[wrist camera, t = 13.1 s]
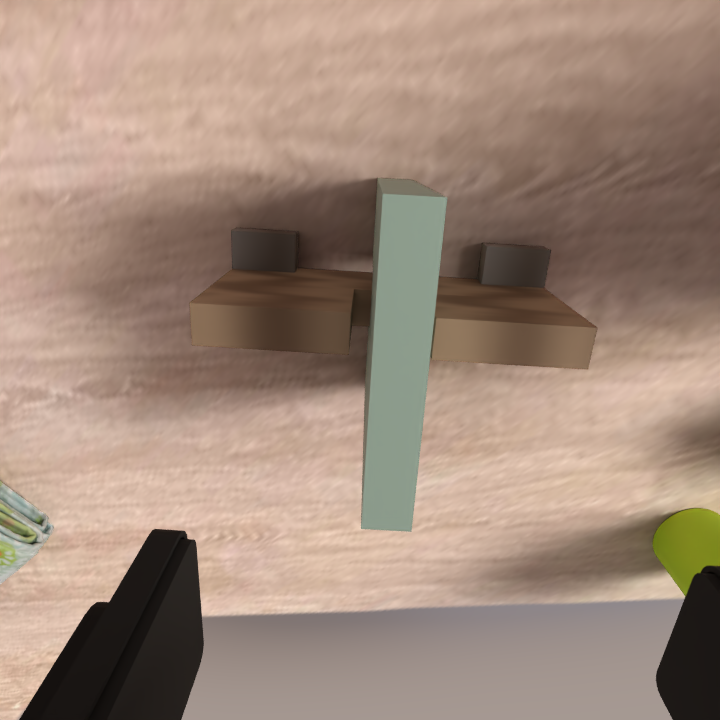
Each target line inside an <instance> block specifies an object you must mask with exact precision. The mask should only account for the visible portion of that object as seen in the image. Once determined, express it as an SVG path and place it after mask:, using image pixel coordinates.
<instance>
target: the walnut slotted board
mask: <svg viewBox="0 0 720 720" xmlns="http://www.w3.org/2000/svg"><path fill="white" fill-rule="evenodd" d="M231 241H232V270H230V271H229V272H228V273H227V274H225V275H224V276H223V277H221V278H220V279H219V280H218V281H216V282H215V283H214V284H213V285H211V286H210V287H209V288H208V289H206V290H205V291H204V292H203V293H201V294H200V295H199V296H198V297H196V298H195V299H194V300H192V301H191V302H190V303H189V306H190V322H191V338H192V345H194V346H210V347H227V348H243V349H259V350H276V351H292V352H309V353H325V354H342V355H349V346H350V338H351V329H352V325H353V326H369V327H370V312H371V296H372V279H373V273H369V272H353V271H336V270H320V269H304V268H298V231H283V230H267V229H250V228H235V229H233V230H231ZM550 253H551V250H550V249H548V248H546V247H544V246H527V245H511V244H495V243H482V249H481V256H480V263H479V271H478V278H477V279H467V278H451V277H439V279H438V288H437V298H436V307H435V316H434V325H433V335H432V344H431V353H430V356H431V360H440V361H456V362H473V363H489V364H506V365H522V366H539V367H555V368H571V369H588V367H589V363H590V358H591V354H592V350H593V345H594V341H595V337H596V332H597V327H596V326H594V325H593V324H592V323H590V322H589V321H588V320H586V319H585V318H584V317H582V316H581V315H580V314H578V313H577V312H576V311H574V310H573V309H571V308H570V307H569V306H567V305H566V304H565V303H563V302H562V301H561V300H559V299H558V298H557V297H555V296H554V295H553V294H551V293H550V292H549V291H547V290H546V289H545V288H544V285H545V280H546V275H547V269H548V264H549V259H550Z"/></svg>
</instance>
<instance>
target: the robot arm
mask: <svg viewBox="0 0 720 720" xmlns="http://www.w3.org/2000/svg"><path fill="white" fill-rule="evenodd" d="M203 646H204V641H203V628H202V614H201V600H200V587H199V574H198V561H197V547H196V542H195V540H190V539H187V534H186V532H185V531H177V530H162V529H154V530H152V532H151V533H150V534H149V536H148V537H147V539H146V541H145V543H144V544H143V546H142V548H141V549H140V551H139V553H138V554H137V556H136V558H135V560H134V561H133V563H132V565H131V566H130V568H129V570H128V571H127V573H126V575H125V576H124V578H123V580H122V582H121V583H120V585H119V587H118V588H117V590H116V592H115V593H114V595H113V597H112V599H111V600H110V602H97V603H95V604H94V605H93V606H91V607H90V609H89V610H88V611H87V613H86V614H85V615H84V617H83V619H82V620H81V622H80V623H79V625H78V627H77V628H76V630H75V631H74V633H73V635H72V636H71V638H70V639H69V641H68V643H67V644H66V646H65V647H64V649H63V651H62V652H61V654H60V655H59V657H58V659H57V660H56V662H55V663H54V665H53V667H52V668H51V670H50V671H49V673H48V675H47V676H46V678H45V679H44V681H43V683H42V684H41V686H40V687H39V689H38V691H37V692H36V694H35V695H34V697H33V699H32V700H31V702H30V703H29V705H28V706H27V708H26V710H25V711H24V713H23V714H22V716H21V718H20V719H19V720H181V719H182V715H183V712H184V710H185V707H186V704H187V701H188V698H189V695H190V692H191V689H192V686H193V683H194V680H195V677H196V675H197V672H198V669H199V666H200V662H201V658H202V653H203ZM656 682H657V687H658V691H659V693H660V696H661V698H662V700H663V702H664V704H665V706H666V707H667V709H668V711H669V713H670V715H671V717H672V719H673V720H720V566H706V567H704V568H703V569H702V571H701V572H700V573H697V574H695V575H694V577H693V579H692V581H691V584H690V586H689V589H688V592H687V594H686V597H685V600H684V602H683V605H682V607H681V610H680V613H679V615H678V618H677V620H676V623H675V626H674V628H673V631H672V634H671V637H670V639H669V641H668V644H667V647H666V649H665V652H664V655H663V657H662V660H661V662H660V665H659V668H658V670H657V674H656Z"/></svg>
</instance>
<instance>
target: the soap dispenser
mask: <svg viewBox="0 0 720 720" xmlns="http://www.w3.org/2000/svg"><path fill="white" fill-rule="evenodd" d="M653 549H654V552H655V554H656V556H657V557H658V559H659V560H660V562H661V563H662V564H663V566H664V567H665V569H666V570H667V571H668V573H669V574H670V576H671V577H672V578H673V580H674V581H675V583H676V584H677V585H678V587H679V588H680V590H681V591H682V592H683V594H684V595H685V596H686V594H687V592H688V589H689V586H690V584H691V581H692V579H693V577H694V575H695V574H697V573H700V572H701V571H702V569H703V568H704V567H706V566H720V515H719V514H718V513H716V512H714V511H711V510H708V509H701V508H695V509H688V510H684V511H681V512H678V513H676V514H674V515H672V516H671V517H669V518H668V519H666V520H665V521H664V522H663V523H662V524H661V525H660V526H659V528H658V529H657V531H656V533H655V535H654V538H653Z"/></svg>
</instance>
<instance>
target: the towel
mask: <svg viewBox="0 0 720 720" xmlns="http://www.w3.org/2000/svg"><path fill="white" fill-rule="evenodd" d="M53 528H54V527H53V525H51V524H50V523H48V516H47V515H46V514H45V513H44V512H42V511H40V510H38V509H37V508H36V507H35V506H34V505H33V504H31V503H29V502H28V501H26V500H25V499H24V498H23V497H21V496H20V495H18V494H17V493H15V492H14V491H13V490H12V489H10V488H9V487H8V486H6V485H5V484H4V483H3V482H1V481H0V584H2V583H3V582H4V581H5V580H6V579H7V578H9V577H10V576H11V575H13V574H14V573H15V572H17V571H18V570H19V569H20V568H21V567H22V566H23V565H24V564H25V563H27V562H28V561H29V560H30V559H31V558H33V557H34V556H35V555H36V554H37V553H38V551H39V549H40V548H41V547H42V546H43V545H44V543H45V542H46V541H47V540H48V538H49V536H50V535H51V534H52V532H53Z"/></svg>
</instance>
